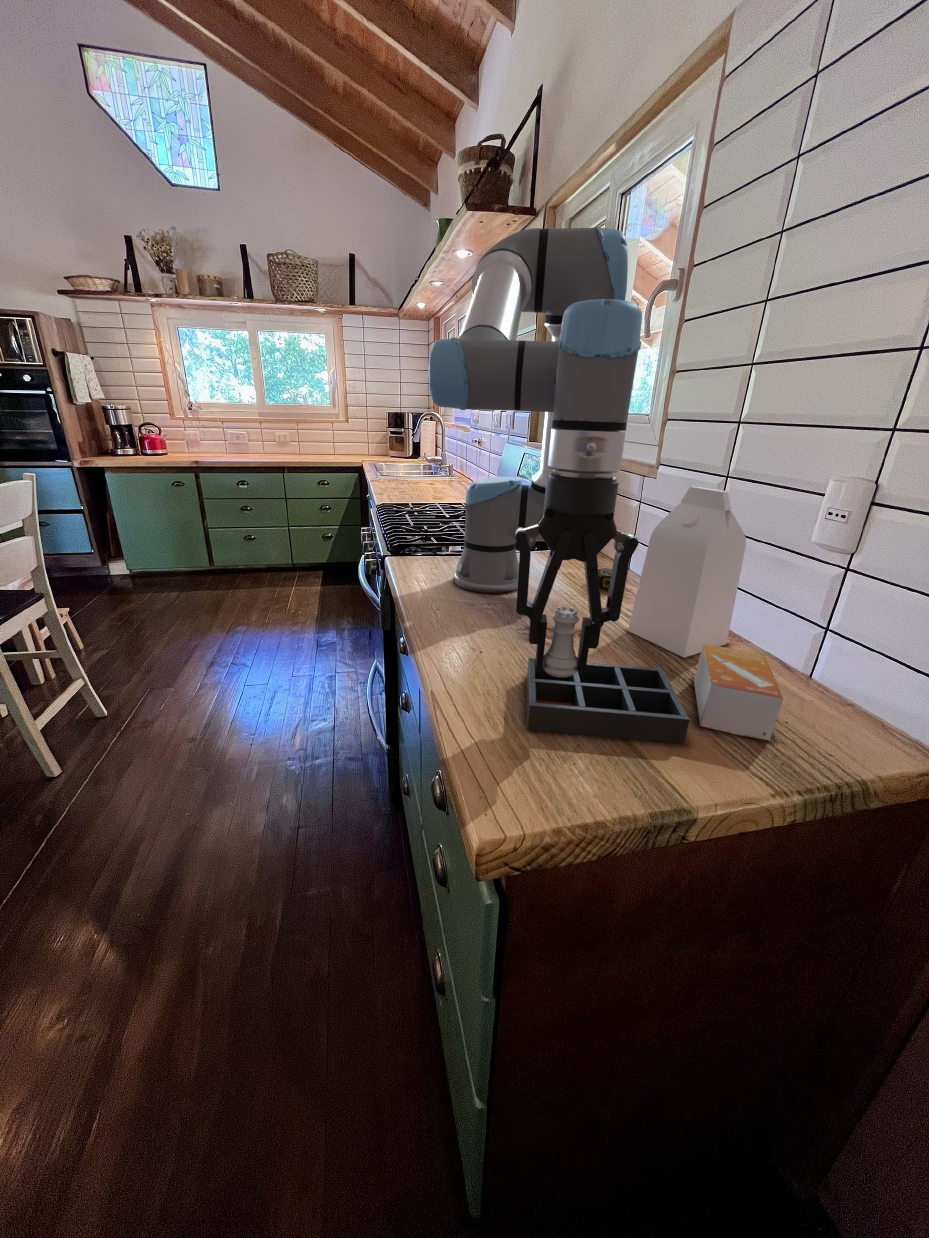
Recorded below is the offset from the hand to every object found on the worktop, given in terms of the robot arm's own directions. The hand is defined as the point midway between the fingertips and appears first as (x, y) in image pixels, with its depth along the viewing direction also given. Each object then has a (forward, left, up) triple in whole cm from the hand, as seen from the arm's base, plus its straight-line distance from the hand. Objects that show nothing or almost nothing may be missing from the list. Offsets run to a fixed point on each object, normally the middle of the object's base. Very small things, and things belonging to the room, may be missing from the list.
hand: (559, 668), depth 61 cm
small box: (-13, +25, -4) cm, 29 cm away
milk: (-29, +23, -7) cm, 38 cm away
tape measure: (-55, +14, -7) cm, 57 cm away
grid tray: (-3, +6, -7) cm, 10 cm away
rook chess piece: (0, 0, 0) cm, 0 cm away
